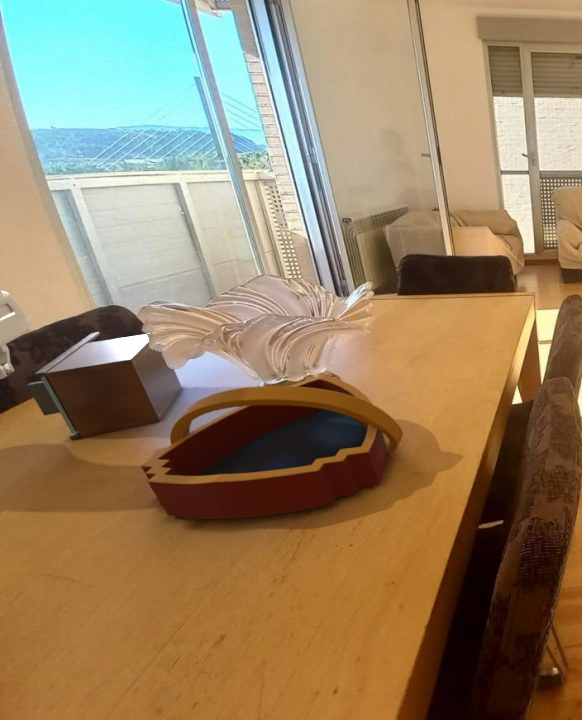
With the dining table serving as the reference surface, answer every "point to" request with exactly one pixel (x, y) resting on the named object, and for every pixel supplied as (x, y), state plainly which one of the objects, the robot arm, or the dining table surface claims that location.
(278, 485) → the decorative basket
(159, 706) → the dining table surface
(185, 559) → the dining table surface
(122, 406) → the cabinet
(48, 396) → the grey sliding lid
